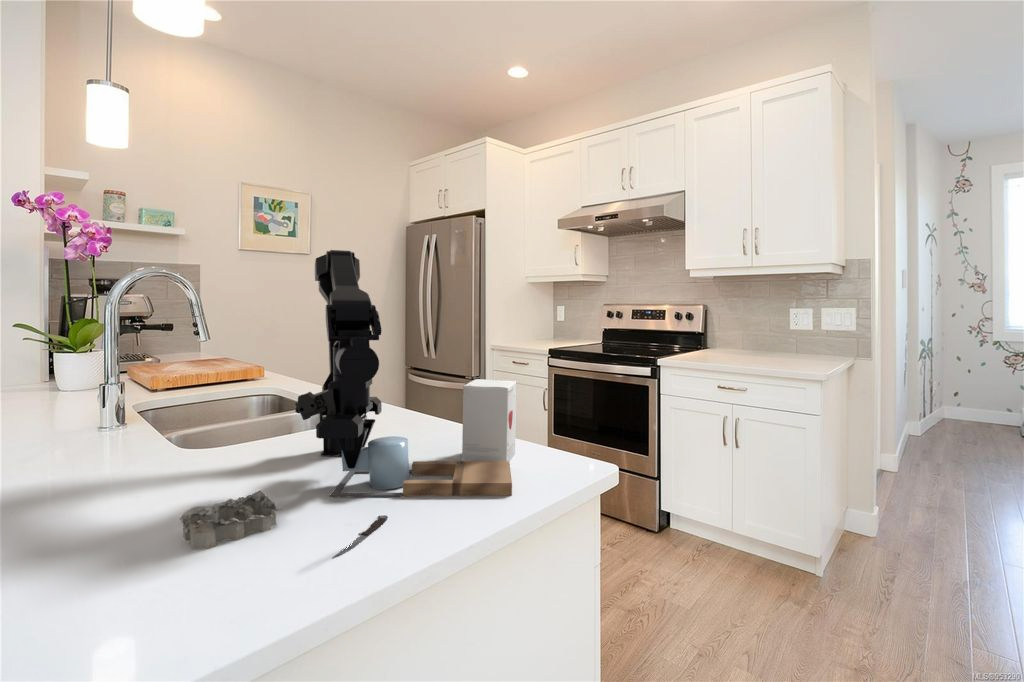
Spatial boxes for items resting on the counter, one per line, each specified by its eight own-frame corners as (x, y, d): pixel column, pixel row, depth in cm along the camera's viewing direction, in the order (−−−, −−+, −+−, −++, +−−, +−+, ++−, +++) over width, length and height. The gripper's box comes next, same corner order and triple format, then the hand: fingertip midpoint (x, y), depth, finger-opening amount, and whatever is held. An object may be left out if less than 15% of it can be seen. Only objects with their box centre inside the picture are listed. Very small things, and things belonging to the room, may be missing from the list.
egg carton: (191, 556, 62) (190, 524, 62) (178, 535, 68) (177, 505, 68) (282, 529, 70) (281, 500, 69) (264, 512, 75) (263, 485, 75)
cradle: (402, 495, 82) (402, 483, 81) (413, 472, 92) (413, 461, 92) (511, 495, 82) (512, 482, 82) (509, 472, 93) (509, 461, 93)
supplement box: (507, 466, 96) (508, 387, 95) (461, 463, 98) (461, 385, 97) (516, 452, 105) (517, 380, 104) (474, 449, 107) (474, 378, 106)
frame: (329, 497, 81) (329, 495, 80) (350, 471, 92) (350, 469, 92) (400, 496, 81) (400, 494, 81) (412, 471, 93) (412, 469, 93)
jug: (412, 474, 90) (410, 435, 90) (406, 488, 84) (404, 446, 83) (349, 477, 90) (347, 438, 89) (339, 491, 83) (337, 449, 83)
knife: (372, 513, 74) (390, 514, 73) (372, 518, 74) (391, 519, 73) (292, 574, 58) (315, 577, 57) (292, 580, 58) (315, 584, 57)
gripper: (319, 366, 94) (321, 450, 95) (279, 383, 75) (282, 487, 77) (381, 366, 95) (382, 449, 96) (356, 383, 76) (358, 486, 77)
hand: (353, 466), depth 86 cm, fingers closed on jug
